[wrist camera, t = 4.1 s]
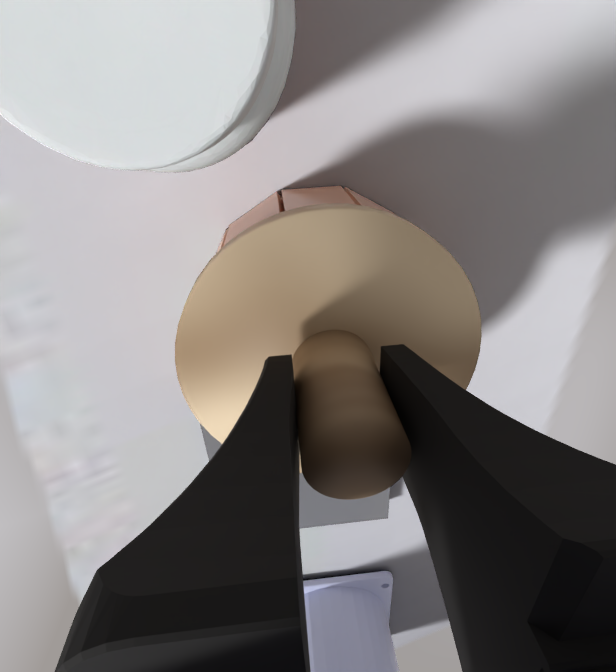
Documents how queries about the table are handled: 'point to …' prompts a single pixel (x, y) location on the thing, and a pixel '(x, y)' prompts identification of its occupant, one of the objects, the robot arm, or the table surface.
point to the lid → (327, 333)
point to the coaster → (325, 501)
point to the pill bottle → (144, 77)
